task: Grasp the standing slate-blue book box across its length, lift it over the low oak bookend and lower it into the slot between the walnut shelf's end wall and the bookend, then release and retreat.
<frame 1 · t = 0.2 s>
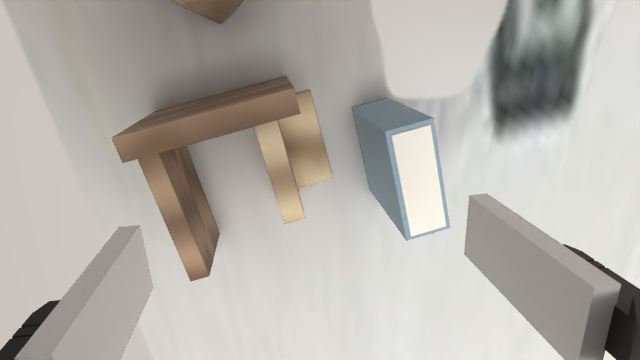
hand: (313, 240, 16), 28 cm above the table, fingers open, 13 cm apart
shelf corner: (223, 103, 41), on the table
bookend: (276, 147, 43), on the table
book box: (378, 145, 45), on the table
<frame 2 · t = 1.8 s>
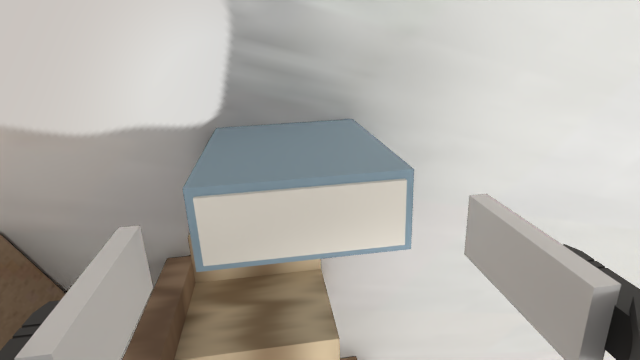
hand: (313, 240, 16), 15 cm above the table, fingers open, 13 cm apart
shelf corner: (193, 329, 34), on the table
wooden block: (1, 308, 31), on the table
bookend: (260, 281, 33), on the table
book box: (287, 149, 30), on the table
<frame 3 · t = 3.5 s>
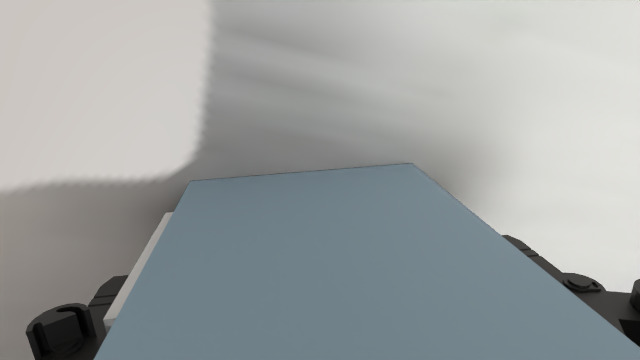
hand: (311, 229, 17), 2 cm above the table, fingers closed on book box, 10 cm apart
book box: (306, 212, 18), on the table, touching gripper
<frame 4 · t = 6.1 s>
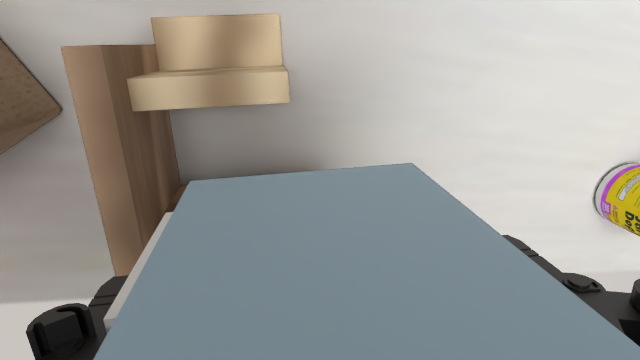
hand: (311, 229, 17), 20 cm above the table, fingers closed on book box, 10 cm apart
shelf corner: (159, 130, 35), on the table
bookend: (224, 79, 34), on the table
book box: (306, 212, 18), point 19 cm above the table, touching gripper
supplement bottle: (618, 190, 43), on the table
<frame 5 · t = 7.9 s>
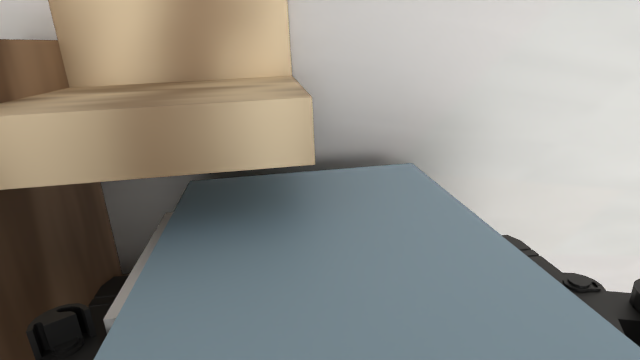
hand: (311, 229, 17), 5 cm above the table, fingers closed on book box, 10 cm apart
shelf corner: (80, 187, 20), on the table
bookend: (190, 100, 19), on the table
book box: (306, 212, 18), point 3 cm above the table, touching gripper
when the fingers open (3 cm above the table, at t = 9.1 s): book box drops 1 cm, on the table.
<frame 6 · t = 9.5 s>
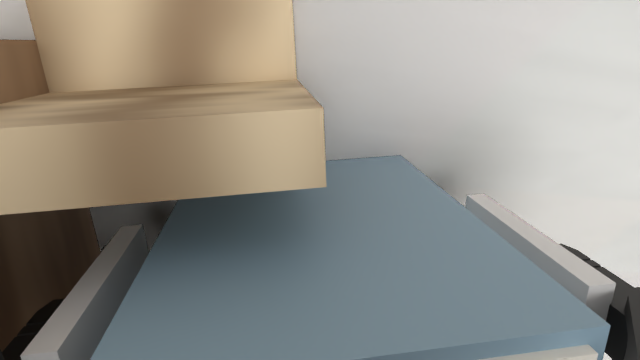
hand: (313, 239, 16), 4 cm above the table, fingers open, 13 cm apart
shelf corner: (64, 202, 18), on the table
bookend: (184, 107, 18), on the table
book box: (302, 200, 20), on the table
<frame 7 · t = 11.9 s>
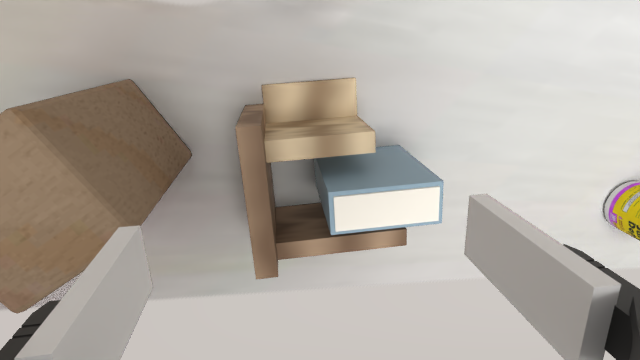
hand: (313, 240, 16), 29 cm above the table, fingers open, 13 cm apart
shelf corner: (262, 166, 45), on the table
wooden block: (127, 142, 43), on the table
bookend: (311, 127, 44), on the table
book box: (357, 165, 46), on the table
supplement bottle: (624, 202, 52), on the table
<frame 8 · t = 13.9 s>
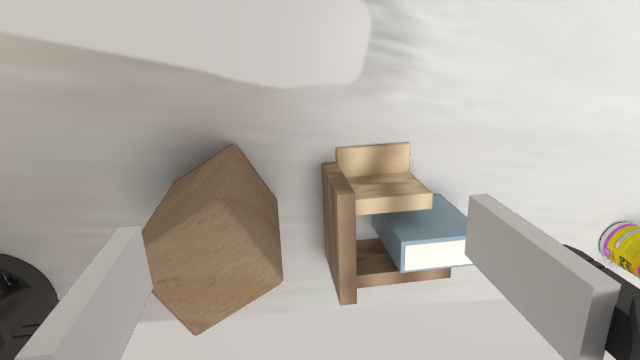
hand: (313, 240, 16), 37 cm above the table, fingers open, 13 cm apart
shelf corner: (330, 210, 56), on the table
wooden block: (226, 191, 53), on the table
bookend: (372, 180, 55), on the table
book box: (405, 209, 57), on the table
supplement bottle: (615, 239, 64), on the table
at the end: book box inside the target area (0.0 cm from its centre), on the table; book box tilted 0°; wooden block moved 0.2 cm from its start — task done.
